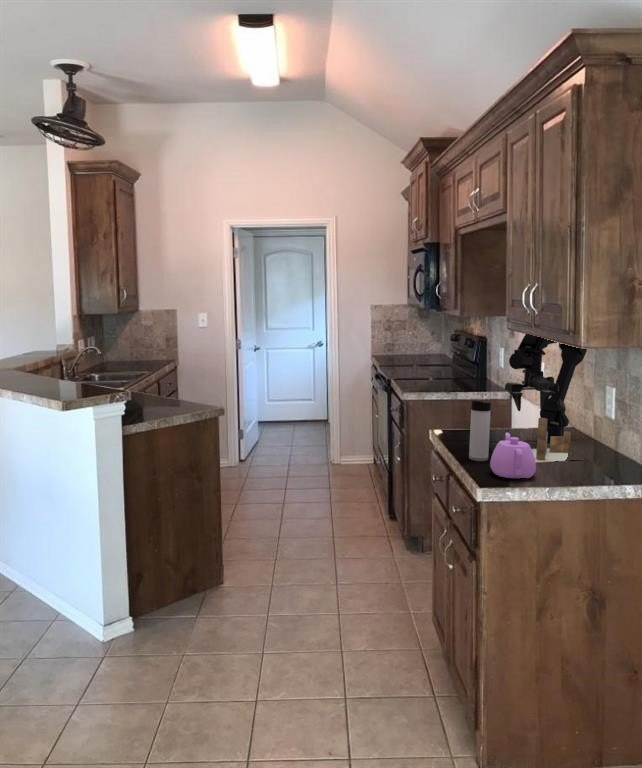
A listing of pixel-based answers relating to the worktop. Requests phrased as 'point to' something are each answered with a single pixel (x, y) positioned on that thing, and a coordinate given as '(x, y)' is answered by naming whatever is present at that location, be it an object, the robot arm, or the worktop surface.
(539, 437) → the gate
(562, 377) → the robot arm
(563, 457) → the card
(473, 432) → the travel mug
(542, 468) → the worktop surface
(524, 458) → the teapot
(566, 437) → the base
